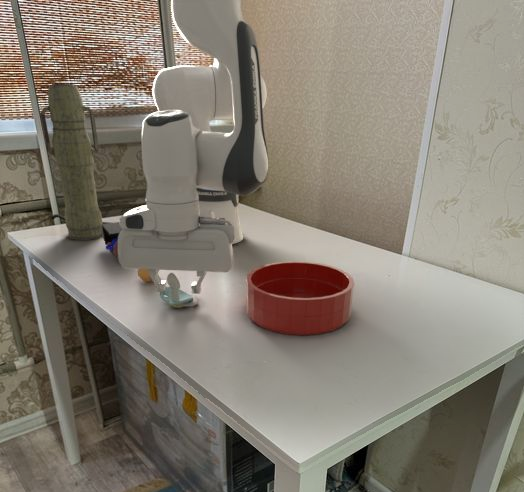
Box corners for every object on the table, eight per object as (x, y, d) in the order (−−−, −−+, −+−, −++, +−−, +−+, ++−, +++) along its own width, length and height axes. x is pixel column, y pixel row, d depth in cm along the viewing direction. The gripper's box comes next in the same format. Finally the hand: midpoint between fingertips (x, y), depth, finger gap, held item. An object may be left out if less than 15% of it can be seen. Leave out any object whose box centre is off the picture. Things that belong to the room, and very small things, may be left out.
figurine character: (101, 252, 124) (113, 264, 112) (96, 221, 121) (108, 230, 109) (129, 249, 127) (143, 260, 114) (124, 218, 124) (139, 226, 111)
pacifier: (183, 294, 98) (156, 301, 95) (181, 263, 96) (154, 269, 92) (205, 306, 94) (177, 313, 90) (204, 273, 91) (176, 280, 87)
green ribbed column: (60, 233, 133) (32, 83, 117) (105, 228, 138) (86, 83, 121) (64, 242, 126) (36, 84, 110) (112, 237, 131) (92, 84, 114)
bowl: (240, 333, 84) (240, 297, 81) (251, 291, 100) (251, 259, 97) (354, 338, 83) (358, 302, 79) (346, 295, 99) (349, 263, 96)
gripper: (236, 213, 89) (237, 288, 95) (121, 210, 90) (130, 283, 96) (231, 222, 83) (232, 300, 90) (109, 218, 84) (119, 296, 91)
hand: (178, 291), depth 93 cm, fingers closed on pacifier, 5 cm apart
